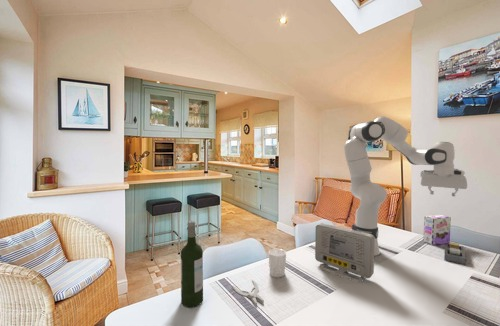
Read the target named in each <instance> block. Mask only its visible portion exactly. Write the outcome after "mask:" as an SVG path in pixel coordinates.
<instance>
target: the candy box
mask: <svg viewBox="0 0 500 326" xmlns="http://www.w3.org/2000/svg"><path fill="white" fill-rule="evenodd" d="M423 242H424V243H426V244H429V245H430V246H435V245H436V246H437V245H445V243H449V244H450V242H451V216H447V215H443V214H435V215H424V222H423Z"/></svg>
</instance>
